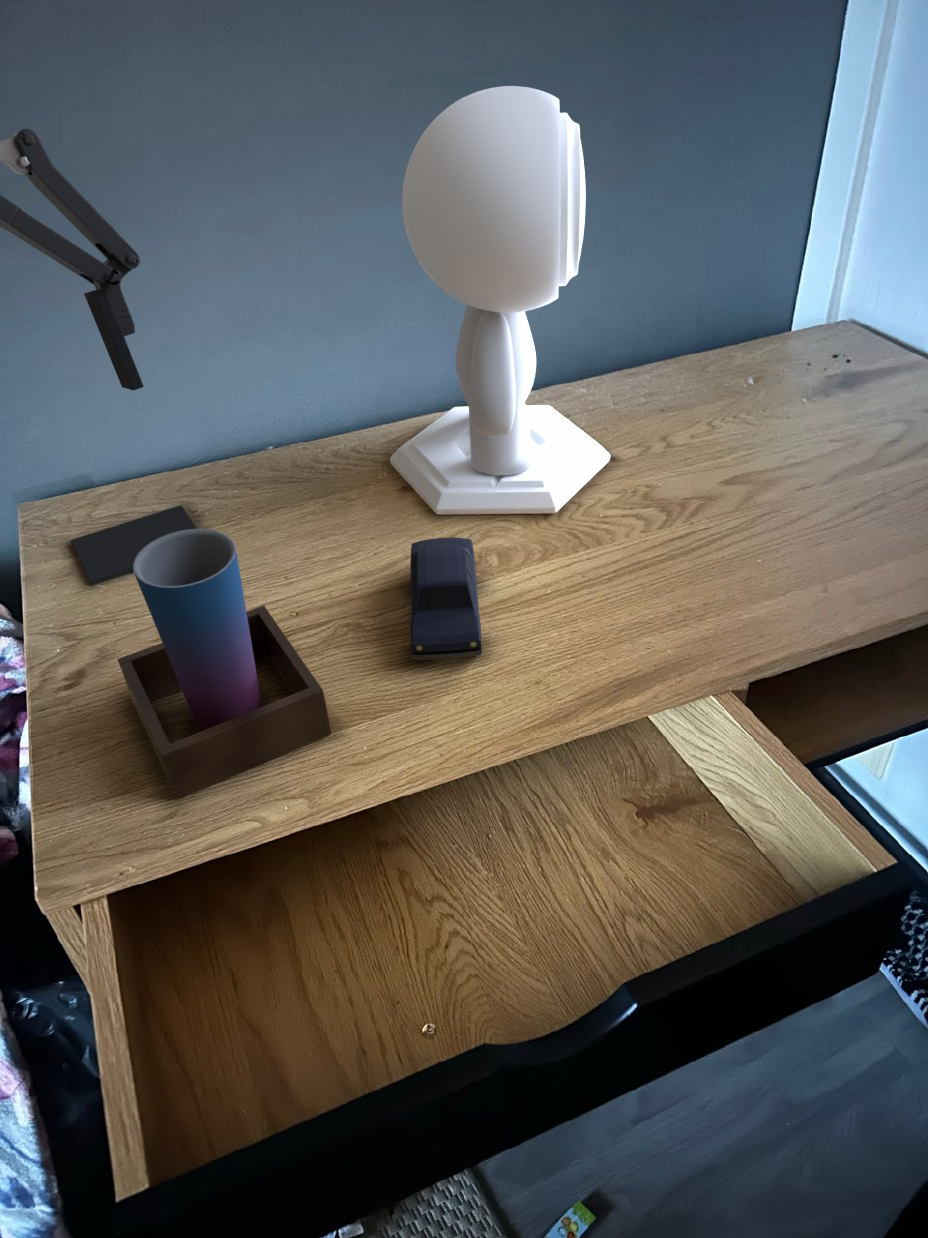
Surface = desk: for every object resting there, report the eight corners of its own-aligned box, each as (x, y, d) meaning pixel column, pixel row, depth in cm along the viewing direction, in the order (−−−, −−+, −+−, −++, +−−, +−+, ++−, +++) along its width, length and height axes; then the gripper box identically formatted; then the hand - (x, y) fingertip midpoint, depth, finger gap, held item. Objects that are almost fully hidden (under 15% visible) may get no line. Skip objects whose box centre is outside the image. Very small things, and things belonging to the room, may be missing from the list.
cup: (264, 677, 78) (226, 519, 69) (283, 734, 73) (244, 571, 64) (178, 701, 76) (127, 542, 67) (191, 761, 71) (138, 598, 62)
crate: (177, 800, 69) (161, 755, 66) (133, 701, 77) (117, 658, 74) (331, 734, 73) (323, 689, 70) (273, 647, 81) (264, 604, 78)
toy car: (411, 672, 78) (405, 624, 75) (411, 565, 89) (406, 518, 86) (485, 667, 78) (482, 618, 75) (475, 560, 89) (473, 514, 86)
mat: (91, 585, 89) (89, 581, 89) (71, 544, 95) (70, 539, 94) (207, 546, 93) (206, 542, 93) (182, 508, 99) (181, 504, 98)
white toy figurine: (615, 513, 94) (637, 110, 72) (378, 515, 96) (328, 123, 74) (605, 415, 109) (620, 59, 87) (401, 419, 111) (365, 71, 89)
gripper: (69, 34, 63) (188, 356, 73) (-376, 122, 53) (-167, 485, 63) (102, 9, 57) (226, 363, 67) (-392, 103, 47) (-159, 506, 57)
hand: (37, 422), depth 65 cm, fingers open, 13 cm apart
